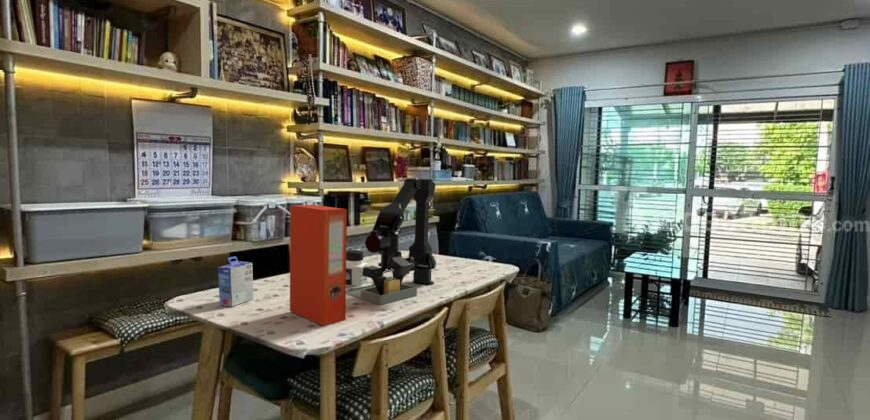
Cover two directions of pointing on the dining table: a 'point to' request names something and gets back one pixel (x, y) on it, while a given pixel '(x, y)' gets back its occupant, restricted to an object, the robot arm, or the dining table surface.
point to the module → (391, 285)
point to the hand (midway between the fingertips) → (389, 294)
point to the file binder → (318, 263)
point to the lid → (358, 290)
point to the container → (355, 268)
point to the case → (374, 296)
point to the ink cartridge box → (235, 282)
